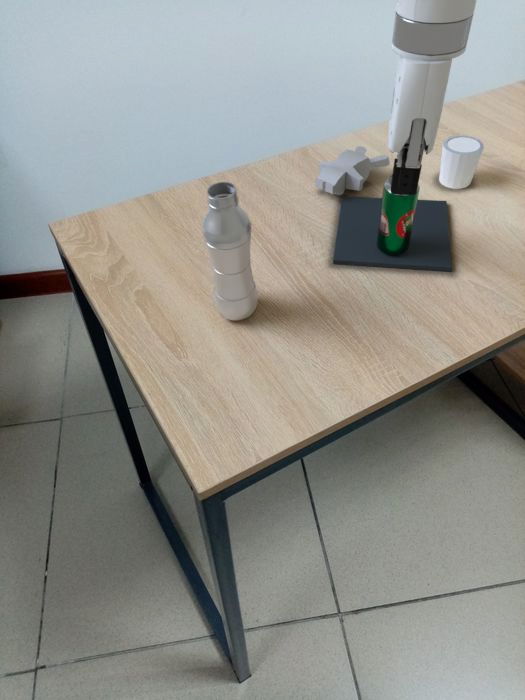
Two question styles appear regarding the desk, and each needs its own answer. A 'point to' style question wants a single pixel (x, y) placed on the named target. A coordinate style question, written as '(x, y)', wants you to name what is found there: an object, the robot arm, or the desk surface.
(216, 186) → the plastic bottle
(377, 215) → the mat
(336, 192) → the grey irregular branched block
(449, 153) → the shot glass
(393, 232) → the soda can
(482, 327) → the desk surface
